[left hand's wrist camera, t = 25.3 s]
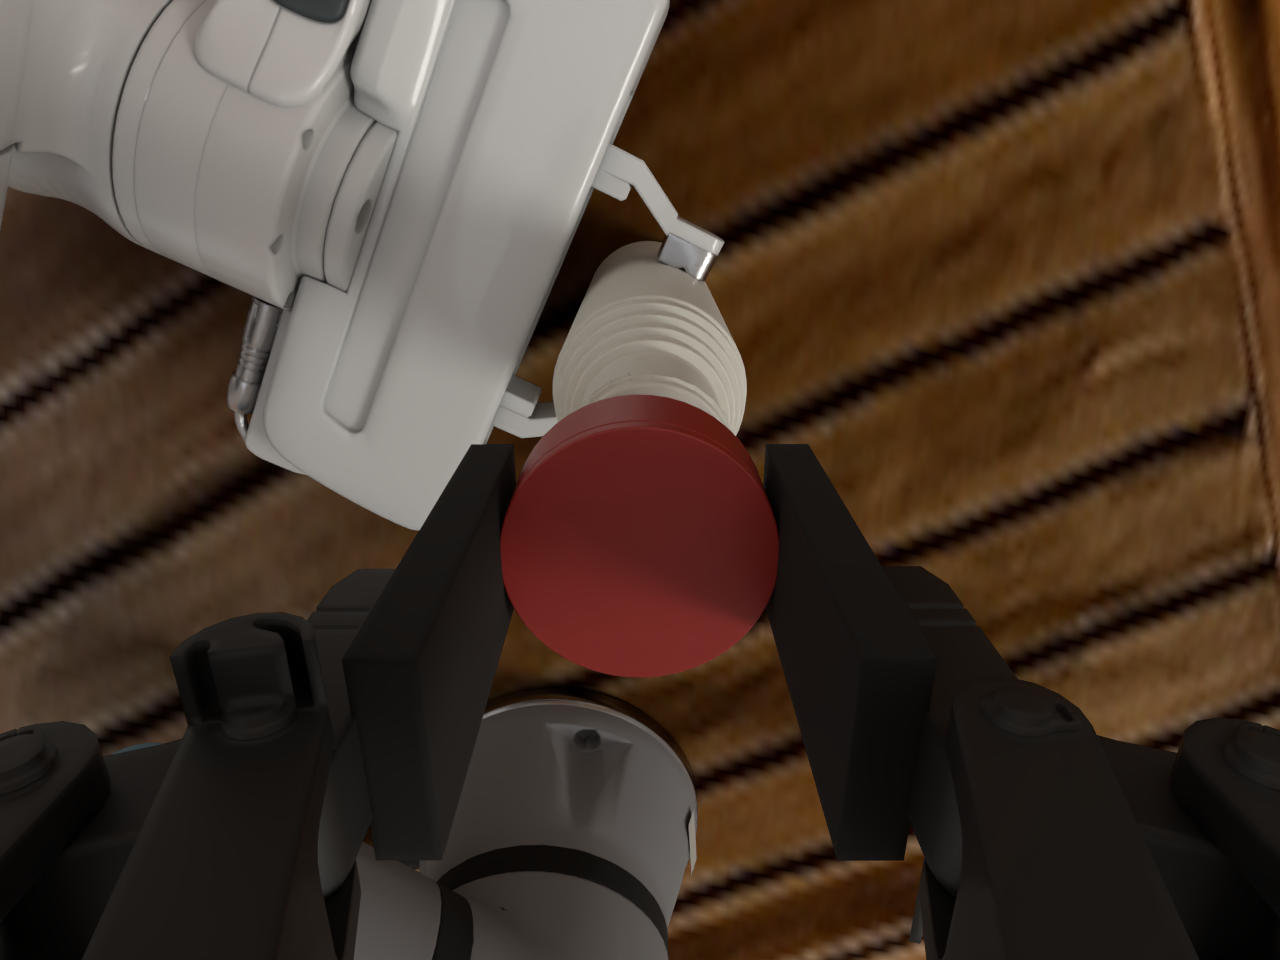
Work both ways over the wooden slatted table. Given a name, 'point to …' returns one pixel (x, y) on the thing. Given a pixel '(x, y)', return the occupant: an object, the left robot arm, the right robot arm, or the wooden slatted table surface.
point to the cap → (639, 538)
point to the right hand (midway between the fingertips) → (671, 345)
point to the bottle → (650, 340)
